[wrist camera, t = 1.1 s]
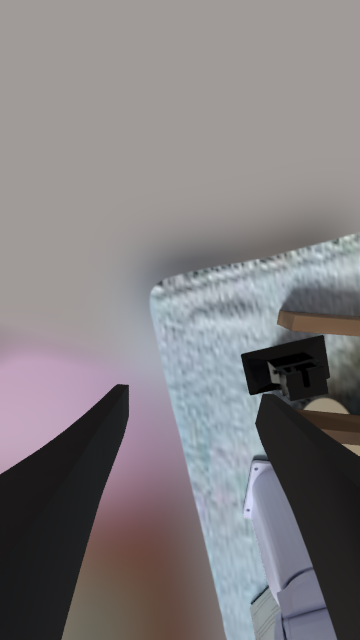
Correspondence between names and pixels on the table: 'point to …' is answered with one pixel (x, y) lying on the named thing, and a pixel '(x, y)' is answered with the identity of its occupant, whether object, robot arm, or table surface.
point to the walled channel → (333, 424)
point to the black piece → (289, 369)
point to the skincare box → (264, 615)
